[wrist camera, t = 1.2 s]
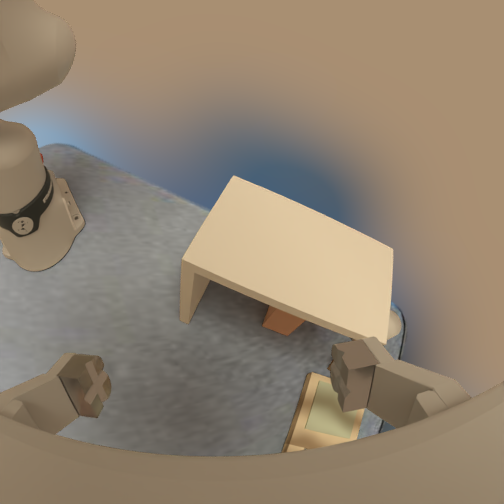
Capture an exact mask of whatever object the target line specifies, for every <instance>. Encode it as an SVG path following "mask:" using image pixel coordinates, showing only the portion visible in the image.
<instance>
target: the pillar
mask: <svg viewBox="0 0 504 504" xmlns="http://www.w3.org/2000/svg"><path fill="white" fill-rule="evenodd" d="M304 321H305V320H304V319H302V318H299V317H297V316H294V315H292V314H289V313H287V312H284V311H282V310H280V309H277V308H275V307H272V306H270V305H269V308H268V311H267V313H266V316H265V319H264V322H263V325H262V326H263V327H266V328H268V329H271V330H273V331H276V332H278V333H281V334H283V335H286V336H288V335H289V334H290V333H291V332H293V331H294V330H295V329H296V328H297V327H298V326H300V325H301V324H302V323H303V322H304Z"/></svg>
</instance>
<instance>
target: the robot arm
mask: <svg viewBox="0 0 504 504" xmlns="http://www.w3.org/2000/svg"><path fill="white" fill-rule="evenodd" d="M75 52H76V40H75V35H74V32H73V30H72V28H71V27H70V25H69V24H68V23H67V22H66V21H65V20H64V19H63V18H61V17H60V16H57V15H55V14H52V13H50V12H48V11H46V10H45V9H43V8H42V7H40V6H39V5H38V4H37V3H36V2H35V1H34V0H0V112H2V111H4V110H7V109H9V108H11V107H14V106H16V105H19V104H22V103H24V102H27V101H30V100H32V99H33V98H35V97H37V96H39V95H41V94H43V93H44V92H46V91H48V90H50V89H52V88H54V87H56V86H57V85H59V84H61V83H62V82H63V80H64V79H65V77H66V76H67V74H68V72H69V71H70V69H71V66H72V64H73V61H74V57H75ZM76 219H77V220H76ZM84 225H85V221H84V219H83V217H82V215H81V213H80V211H79V209H78V207H77V204H76V202H75V200H74V198H73V196H72V194H71V191H70V189H69V187H68V185H67V182H66V180H65V179H62V178H55V176H54V173H53V171H51V170H47V168H46V167H45V166H44V165H43V156H42V154H41V153H40V152H39V148H38V145H37V141H36V137H35V135H34V134H33V133H32V131H31V130H30V129H29V128H27V127H26V126H25V125H23V124H20V123H15V122H8V121H4V120H2V119H0V240H1V242H2V243H3V251H2V252H3V254H4V256H5V257H6V258H8V259H12V260H14V261H15V262H16V263H17V264H18V265H19V266H20V267H21V268H23V269H25V270H28V271H41V270H44V269H47V268H49V267H51V266H53V265H54V264H56V263H57V262H59V261H60V260H61V259H62V258H63V257H64V256H65V254H66V253H67V252H68V250H69V249H70V247H71V245H72V242H73V240H74V238H75V236H76V235H77V234H78V233H79V232H80V231H81V230H82V229H83V227H84ZM331 356H332V358H333V360H334V362H333V363H332V364H331V365H330V378H331V384H332V387H333V390H334V391H335V392H337V393H338V398H337V400H338V402H339V405H340V407H341V410H342V412H349V411H354V410H359V409H364V408H367V409H368V410H370V411H371V412H373V413H374V414H376V415H377V416H379V417H380V418H382V419H383V420H385V421H386V422H388V423H389V424H391V425H392V426H394V427H395V428H396V429H393V430H390V431H387V432H383V433H380V434H376V435H373V436H369V437H365V438H361V439H357V440H353V441H349V442H344V443H340V444H335V445H330V446H325V447H319V448H313V449H307V450H300V451H293V452H285V453H276V454H265V455H250V456H222V457H205V456H178V455H164V454H153V453H144V452H136V451H129V450H122V449H116V448H110V447H105V446H100V445H95V444H90V443H86V442H82V441H77V440H73V439H70V438H66V437H62V436H59V435H55V434H56V433H58V432H59V431H60V430H62V429H63V428H64V427H66V426H67V425H68V424H70V423H71V422H72V421H74V420H75V419H76V418H78V417H79V415H80V416H86V417H93V418H98V416H99V414H100V412H101V411H102V409H103V407H104V406H103V403H102V402H103V401H105V400H107V399H108V397H109V395H110V393H111V382H110V379H109V376H108V375H107V374H106V373H105V372H104V371H103V368H104V363H103V361H102V359H101V358H100V357H99V356H97V355H86V354H76V353H64V354H63V356H62V357H61V358H60V359H59V360H58V361H57V362H56V363H55V364H54V366H53V367H52V368H51V369H50V370H49V371H48V372H47V374H42V375H40V376H37V377H35V378H33V379H31V380H28V381H26V382H24V383H22V384H19V385H17V386H15V387H13V388H10V389H8V390H6V391H3V392H1V393H0V504H504V381H503V382H501V383H500V384H498V385H496V386H494V387H493V388H491V389H489V390H487V391H485V392H483V393H481V394H479V395H477V396H475V397H474V398H471V397H470V395H468V393H467V392H466V391H465V390H464V389H463V388H462V387H461V386H460V384H459V383H458V382H457V381H456V380H455V379H452V378H449V377H446V376H443V375H440V374H437V373H434V372H432V371H429V370H426V369H423V368H420V367H417V366H415V365H412V364H409V363H406V362H403V361H401V360H394V359H393V358H392V357H391V355H390V354H389V353H388V352H387V350H386V349H385V348H384V346H383V345H382V344H381V343H380V341H379V340H378V339H377V338H376V337H374V336H373V337H368V338H364V339H360V340H355V341H350V342H345V343H339V344H334V345H332V350H331Z"/></svg>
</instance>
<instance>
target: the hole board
mask: <svg viewBox="0 0 504 504" xmlns="http://www.w3.org/2000/svg"><path fill="white" fill-rule="evenodd" d="M337 398H338V393H337V392H335V391H334V390H333V387H332V384H331V378H328V377H325V376H322V375H319V374H316V373H313V372H311V373H309V374H307V376H306V379H305V383H304V386H303V389H302V393H301V396H300V399H299V402H298V406H297V409H296V412H295V415H294V418H293V421H292V424H291V427H290V430H289V433H288V436H287V438H286V441H285V444H284V447H283V450H282V452H281V453H285V452H293V451H300V450H304V448H305V449H313V448H319V447H325V446H330V445H335V444H340V443H344V442H349V441H353V440H357V436H358V432H359V428H360V425H361V421H362V417H363V412H364V409H359V410H354V411H349V412H342V410H341V407H340V405H339V402H338V400H337Z"/></svg>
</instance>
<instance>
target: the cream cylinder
mask: <svg viewBox="0 0 504 504" xmlns="http://www.w3.org/2000/svg"><path fill="white" fill-rule="evenodd" d="M400 330H401V321H400V319H399V317H398V315H397V314H396V313H395V312H393V311H391V310H390V315H389V325H388V333H387V340H388V339H390V338H392V337H394V336H395V335H397V334H398V333H399V332H400ZM353 340H355V339H353V338H352V341H353Z"/></svg>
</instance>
